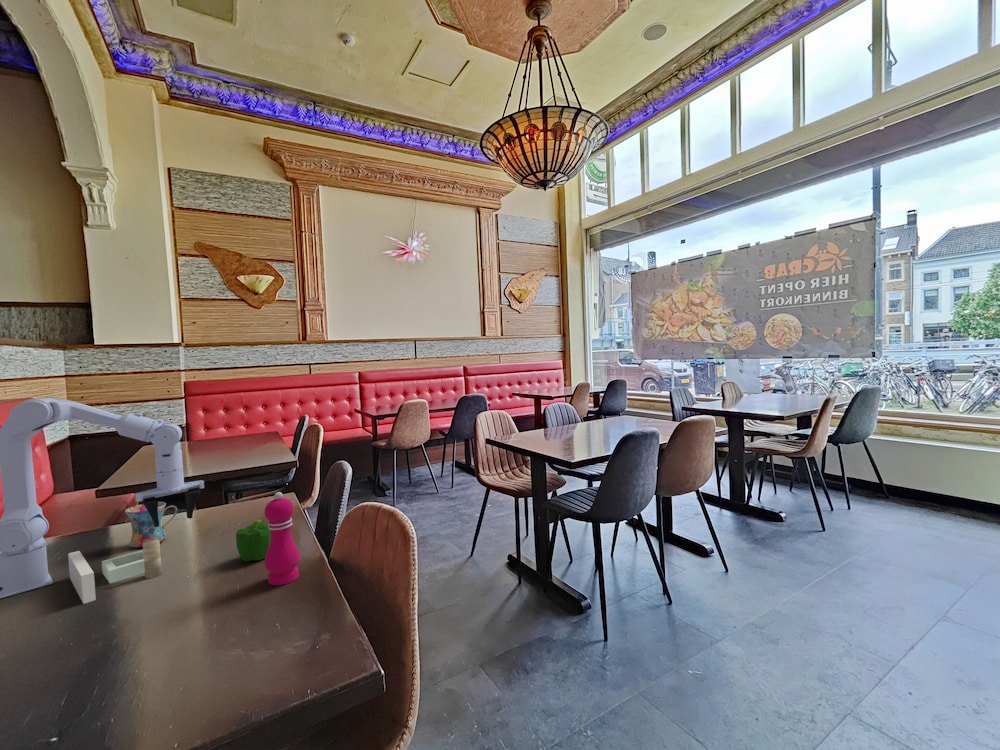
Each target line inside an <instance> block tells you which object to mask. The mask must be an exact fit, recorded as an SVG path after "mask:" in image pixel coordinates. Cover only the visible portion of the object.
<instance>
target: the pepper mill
mask: <svg viewBox="0 0 1000 750" xmlns="http://www.w3.org/2000/svg"><path fill="white" fill-rule="evenodd" d="M283 496H284V495H283V493H282V492H281V491H277V492H276V493H274V495H273V499H272V500H271V501H269V502H268V503H267V504H266V506H265V508H264V518H266V519H267V521H268V522H267V524H268V529H270V532H271V541H270V545H269V548H268V551H267V554H266V557H265V558H264V567H265V570H267V571H268V572H269V573H268V574H267V581H268V584H269V585H271V586H283V585H288V584H290V583H292V582H294V581H296V580H297V579H298V578H299V576H300V575H299V568H298V566H297V565H298V564H299V562H300V560H301V559H300V558H301V557H300V551H299V549H298V547H297V545H296V543H295V541H294V539H293V536H292V532H291V529H292V525H293V522H292V521H293V518H292V517H291V516H292V515H293V514H294V511H295V506H294V504H293V502H292V501H291V500H290V499H288V498H284V497H283Z"/></svg>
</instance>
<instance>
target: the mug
mask: <svg viewBox="0 0 1000 750" xmlns="http://www.w3.org/2000/svg"><path fill="white" fill-rule="evenodd" d="M157 502H158V519H159V527H155V526H154V525H153V521H152V518H151V516H150V514H149V512H148V510H147V509H146V507H145V506H144V504H143V503H141V504H138V505H134V506H131V507H128V508H126V509H125V511H124V513H125V514H126V516H127V518H128V519H129V521H130V524H131V529H132V530H131V531H132V536H131V539H130V542H129V547H131V548H136V549H137V548H143V543H145V542H147V541H151V540H159V541H160V543H161V542H164V541H165V540H167V534H166V533H165V531H164V530H167V528H166V526H167V525H168V524H169V523H171V522H172V521H173V519H174V518H175V517H176V515H177V512H178V507H177V506H175V505H169V506H166V505H167V503H166V502H164V501H157ZM169 508H174V509H175V511H174V513H173V515H172V517H170V519H169V520H168V521H167V522H165V523H164V524H163V523H162V522H163V520H162V519H163V516H164V515H165V512H166V511H167V510H168V509H169Z"/></svg>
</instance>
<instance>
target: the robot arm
mask: <svg viewBox="0 0 1000 750" xmlns="http://www.w3.org/2000/svg"><path fill="white" fill-rule="evenodd" d="M143 415H144V414H143V413H140V412H135V413H127V414H124V415H119V414H116V413H113V412H109V411H106V410H104V409H100V408H97V407H94V406H91V405H87V404H84V403H80V402H77V401H74V400H71V399H70V400H69V399H60V398H57V397H54V396H47V397H42V398H31V399H26V400H24V401H22V402H20V403H19V404H17V405H15V406H14V407H12V408H11V409H10V410H9V414H8V417H7V418H6V420H5V421H4V422H3V424H2V425H1V427H0V479H1V489H2V500H3V508H4V509H3V513H2V516H1V518H0V552H1V553H0V599H4V598H7V597H10V596H14V595H18V594H22V593H24V592H27V591H32V590H35V589H39V588H43V587H46V586H50V585H52V584H53V583H54V582H53V579H52V577H51V574H50V573H49V566H48V555H47V554H48V553H47V541H46V540H45V539H44V536H45V535H46V534H47V533H48V531H49V528H50V523H49V521H48V519H47V518H45V516H44V514H43V509H42V507H41V506H40V505H39V504H38V502H37V493H36V482H35V480H36V479H35V471H34V470H35V469H34V461H33V451H32V440H31V439H32V438H33V437H34V436H36V435H37V434H39V432H41V431H42V430H43V429H44V428H46V427H48V426H50V425H53V424H55V423H58V422H62V421H63V422H64V421H68V420H79V421H82V422H87V423H91V424H96V425H100V426H105V427H109V428H113V429H115V430H116V432H117V433H118V435H120V436H123V437H126V438H131V439H134V440H138V441H142V442H146V443H149V442H151V444H152V445H153V446H154V452H155V454H154V462H155V475H156V476H155V478H156V488H152V489H148V490H144V491H139V492H135V493H134V496H135V502H136V503H141V504H144V506H145V507H146V509H147V510H148V512H149V514H150V516H151V518H152V521H153V525H154V526H155V527H159V519H158V502H159V501H157V498H162V497H165V496H170V495H174V494H180V493H184V499H185V503H186V504H185V505H186V507H185V508H186V509H185V510H186V511H185V512H186V513H185V514H186V518H187V519H189V520H190V519H193V517H194V516H193V515H194V509H195V506H196V504H197V501H198V499H199V497H200V495H201V490H200V489H205V480H202V479H200V480H194V481H188V482H187V481H186V482H185V477H184V476H185V475H184V465H183V463H184V462H183V452H182V444H181V443H182V442H181V439H182V437H183V431H182V428H181V427H180V426H179V425H178V424H175V423H174V422H165V420H164V419H158V420H156V419H153V418H149V417H145V416H143ZM164 422H165V423H164Z"/></svg>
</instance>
